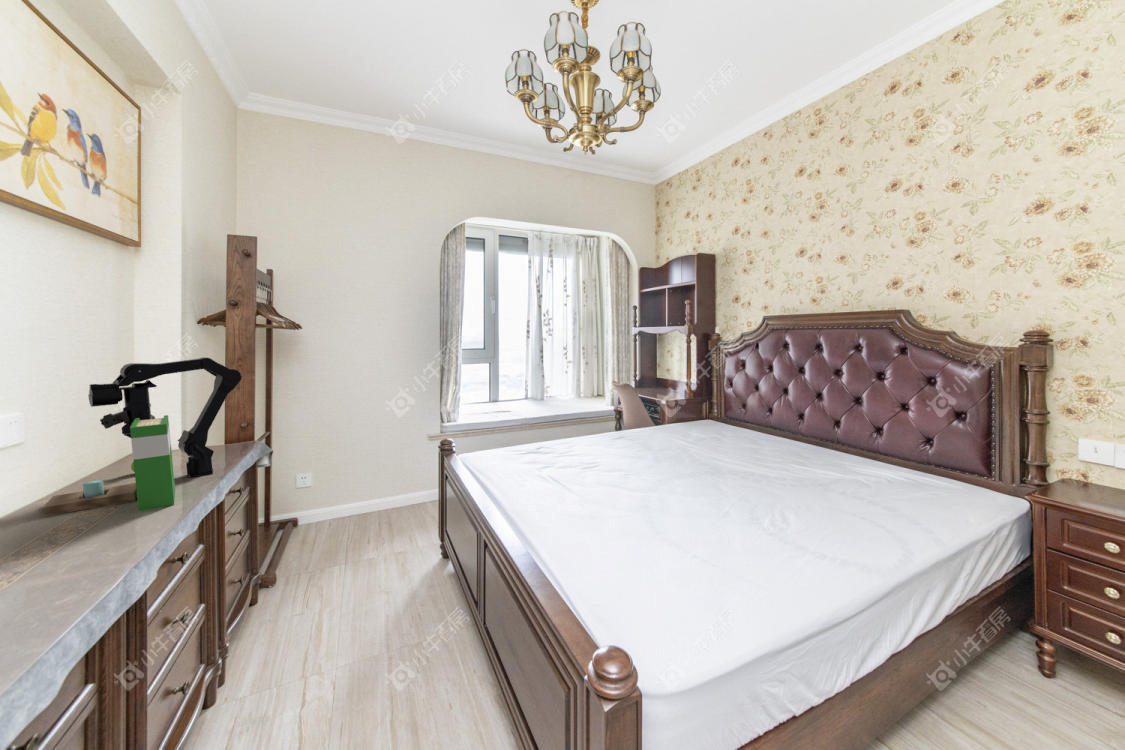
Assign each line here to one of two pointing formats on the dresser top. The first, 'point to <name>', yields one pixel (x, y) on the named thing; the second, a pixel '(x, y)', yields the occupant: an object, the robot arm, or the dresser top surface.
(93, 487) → the teal peg
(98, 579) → the dresser top surface
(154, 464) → the hardback book
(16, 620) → the dresser top surface
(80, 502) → the rail
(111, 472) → the dresser top surface
